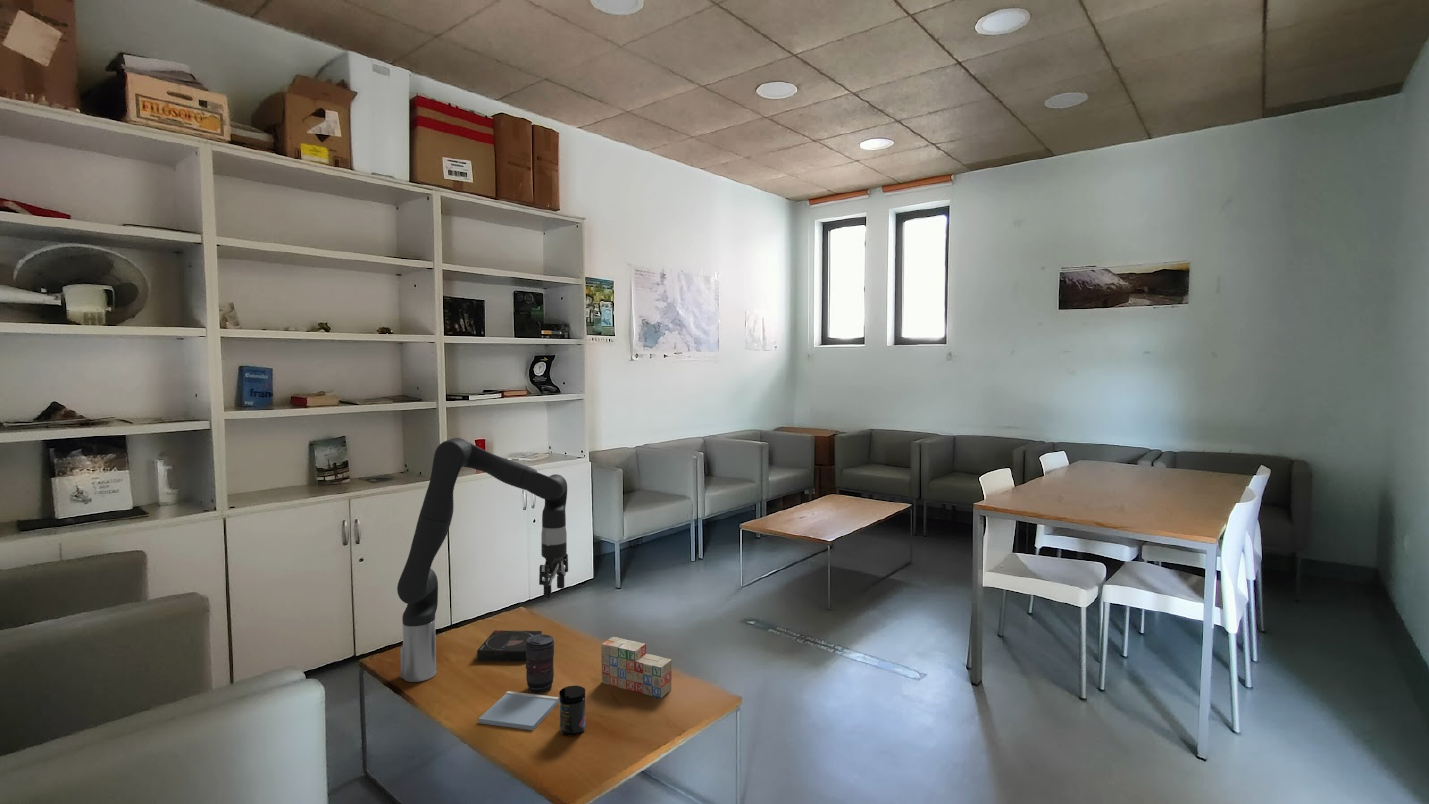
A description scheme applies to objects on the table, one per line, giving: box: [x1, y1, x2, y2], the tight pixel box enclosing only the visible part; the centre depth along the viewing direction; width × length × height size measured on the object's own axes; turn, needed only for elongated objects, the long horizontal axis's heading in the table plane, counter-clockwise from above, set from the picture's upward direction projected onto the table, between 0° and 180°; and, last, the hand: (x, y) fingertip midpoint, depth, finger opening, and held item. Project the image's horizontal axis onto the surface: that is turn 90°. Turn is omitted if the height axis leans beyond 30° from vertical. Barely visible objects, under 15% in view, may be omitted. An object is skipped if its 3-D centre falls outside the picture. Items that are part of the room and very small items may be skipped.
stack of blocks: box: [600, 636, 673, 699], centre depth 200 cm, size 21×6×12 cm, turn 62°
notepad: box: [478, 690, 559, 731], centre depth 185 cm, size 16×15×2 cm
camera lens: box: [525, 633, 555, 694], centre depth 198 cm, size 8×8×15 cm
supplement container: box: [558, 685, 586, 737], centre depth 176 cm, size 7×7×10 cm
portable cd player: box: [476, 630, 543, 663], centre depth 225 cm, size 16×17×4 cm
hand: (554, 592), depth 206 cm, fingers open, 8 cm apart
